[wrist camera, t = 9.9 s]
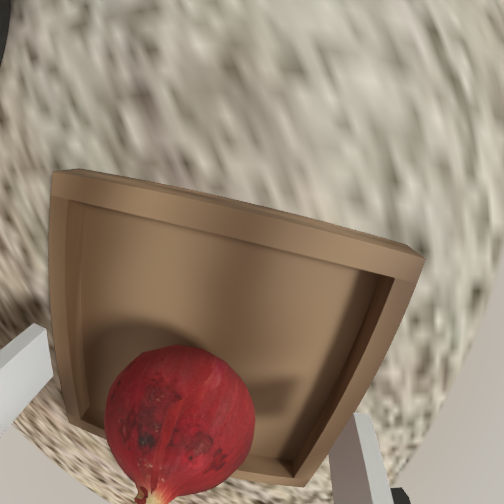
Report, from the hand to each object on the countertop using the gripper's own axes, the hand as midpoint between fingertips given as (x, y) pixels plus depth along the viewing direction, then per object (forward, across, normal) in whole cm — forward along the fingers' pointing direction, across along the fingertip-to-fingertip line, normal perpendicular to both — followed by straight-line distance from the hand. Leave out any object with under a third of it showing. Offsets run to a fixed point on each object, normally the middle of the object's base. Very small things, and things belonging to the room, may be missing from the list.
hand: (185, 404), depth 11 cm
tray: (+4, 0, 0) cm, 4 cm away
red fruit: (+3, 0, 0) cm, 3 cm away
